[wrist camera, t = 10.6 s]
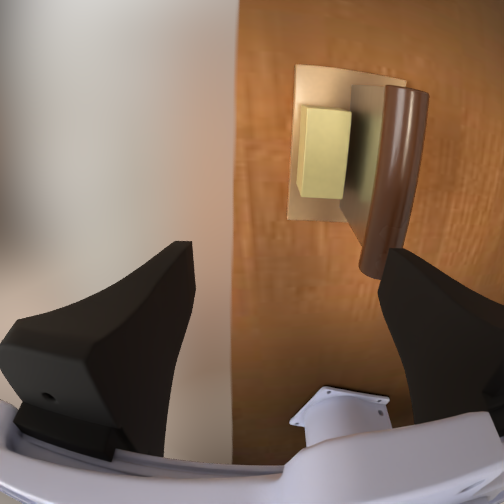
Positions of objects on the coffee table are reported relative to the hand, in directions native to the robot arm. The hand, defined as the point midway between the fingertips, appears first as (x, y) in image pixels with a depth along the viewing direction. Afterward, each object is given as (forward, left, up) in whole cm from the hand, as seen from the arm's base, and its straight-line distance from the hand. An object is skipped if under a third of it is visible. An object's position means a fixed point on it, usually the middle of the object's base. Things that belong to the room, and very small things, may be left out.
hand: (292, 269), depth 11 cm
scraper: (-3, -4, -10) cm, 11 cm away
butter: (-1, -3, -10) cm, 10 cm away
